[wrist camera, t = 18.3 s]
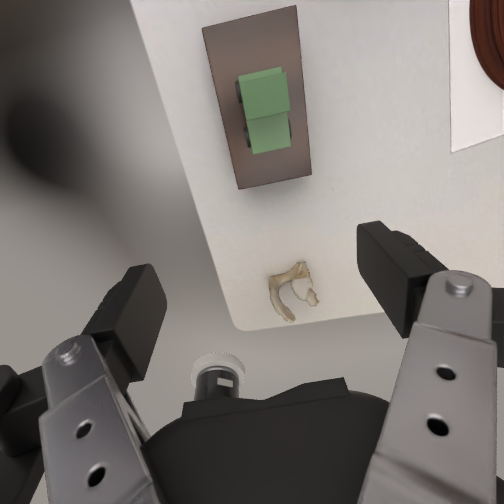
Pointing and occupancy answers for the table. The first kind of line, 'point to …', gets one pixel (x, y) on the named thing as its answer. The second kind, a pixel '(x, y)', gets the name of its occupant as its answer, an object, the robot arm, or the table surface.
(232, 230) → the table surface
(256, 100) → the toy truck
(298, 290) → the bone
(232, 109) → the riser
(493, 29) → the airplane diorama
